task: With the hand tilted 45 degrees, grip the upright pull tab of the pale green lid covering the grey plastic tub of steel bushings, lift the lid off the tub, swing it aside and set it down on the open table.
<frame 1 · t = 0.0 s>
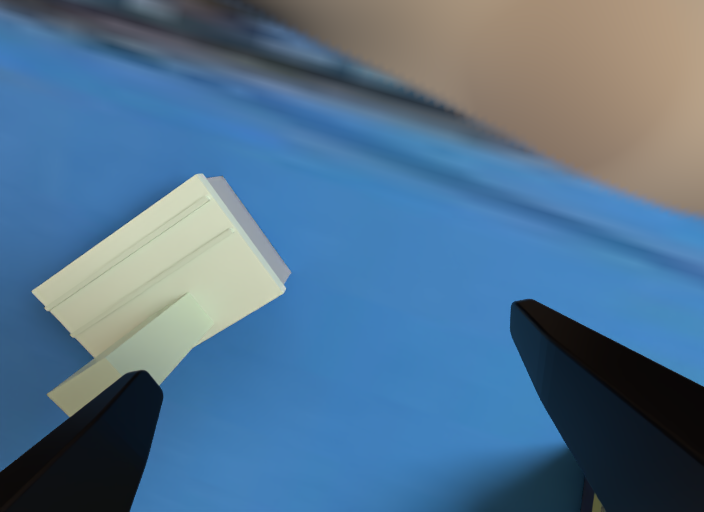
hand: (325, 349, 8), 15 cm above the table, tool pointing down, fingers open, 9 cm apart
protein box: (669, 476, 29), on the table
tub: (187, 272, 24), on the table
lid: (163, 287, 21), point 3 cm above the table, touching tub
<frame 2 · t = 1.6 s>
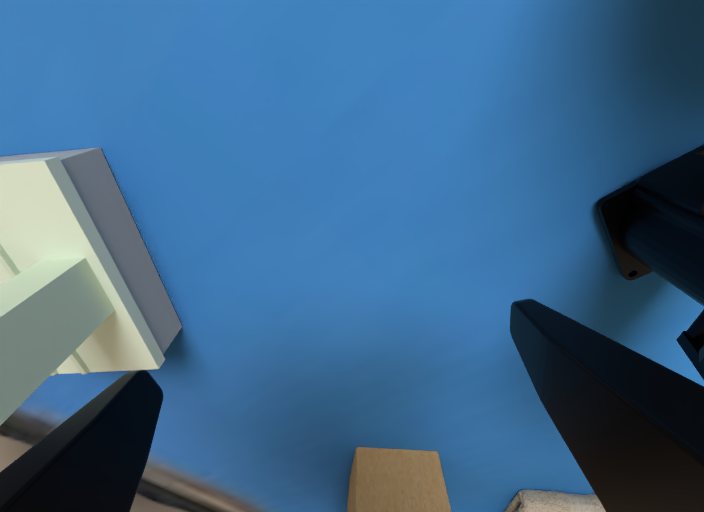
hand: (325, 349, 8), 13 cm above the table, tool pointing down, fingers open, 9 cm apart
sandwich container: (386, 484, 36), on the table
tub: (88, 254, 21), on the table
lid: (51, 280, 19), point 3 cm above the table, touching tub
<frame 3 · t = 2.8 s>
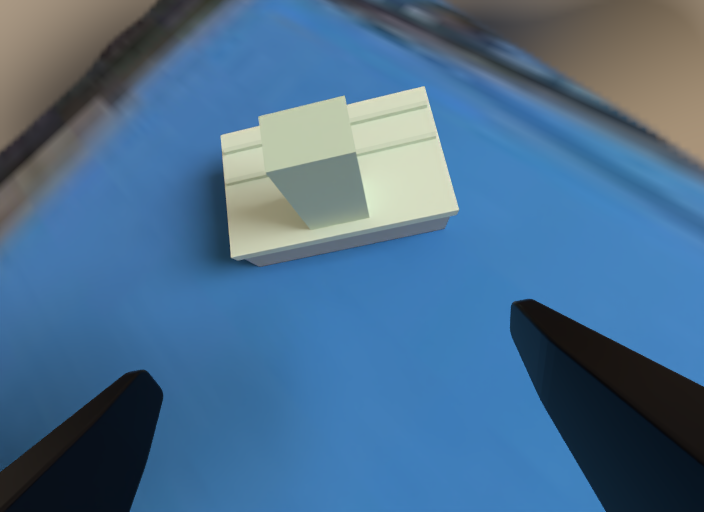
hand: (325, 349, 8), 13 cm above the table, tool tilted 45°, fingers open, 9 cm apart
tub: (340, 195, 24), on the table
lid: (332, 175, 21), point 3 cm above the table, touching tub
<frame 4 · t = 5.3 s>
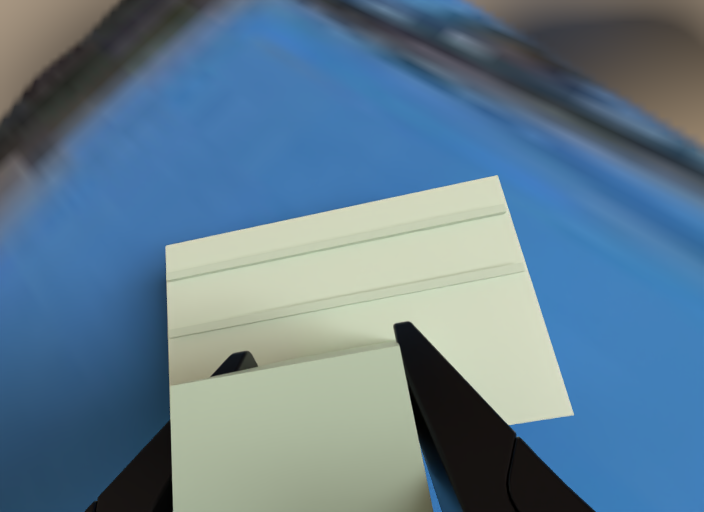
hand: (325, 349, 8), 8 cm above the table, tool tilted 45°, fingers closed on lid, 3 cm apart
lid: (345, 320, 13), point 3 cm above the table, touching gripper, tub
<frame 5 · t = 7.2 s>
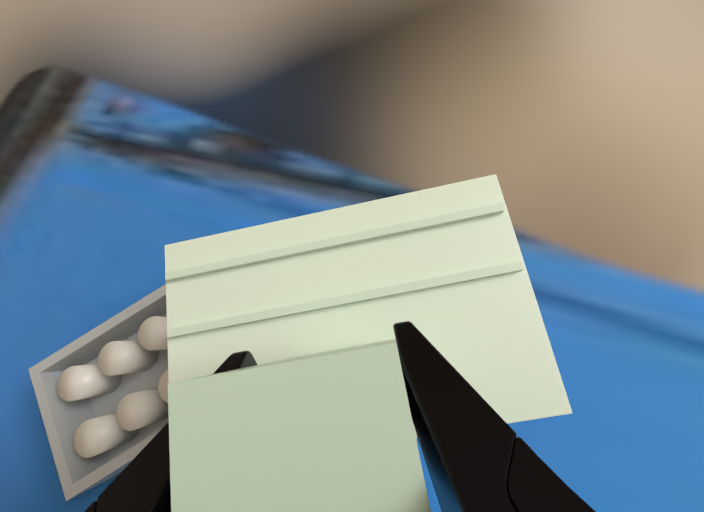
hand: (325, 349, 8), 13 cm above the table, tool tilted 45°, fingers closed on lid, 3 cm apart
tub: (175, 366, 22), on the table
lid: (344, 319, 13), point 9 cm above the table, touching gripper
when the fingers open (7 cm above the table, at t = 9.0 s): lid drops 3 cm, on the table.
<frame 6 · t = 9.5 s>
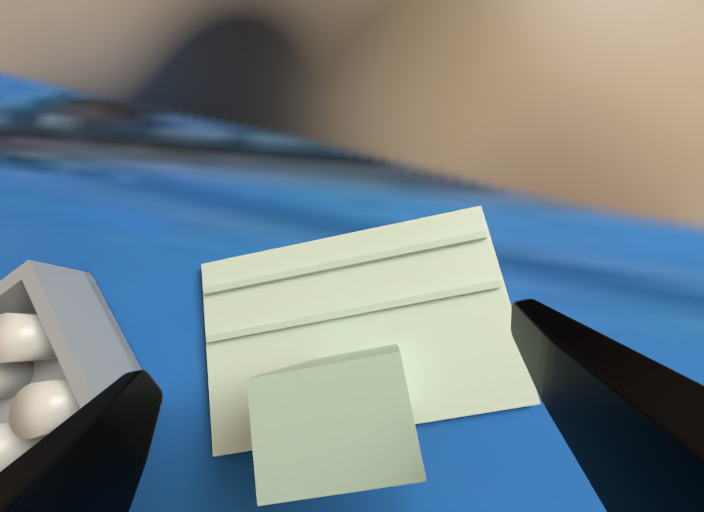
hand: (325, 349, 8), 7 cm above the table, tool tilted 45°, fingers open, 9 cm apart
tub: (12, 422, 16), on the table
lid: (354, 326, 15), on the table
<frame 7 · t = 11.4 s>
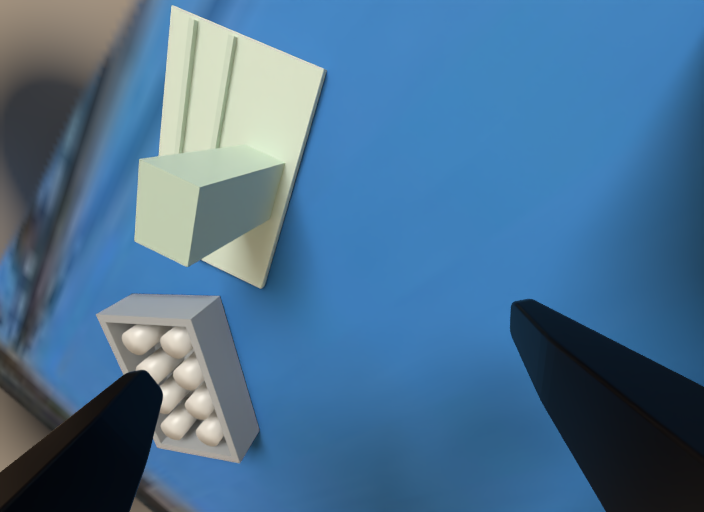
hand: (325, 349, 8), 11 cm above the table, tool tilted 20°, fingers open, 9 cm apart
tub: (198, 365, 27), on the table
lid: (230, 165, 20), on the table
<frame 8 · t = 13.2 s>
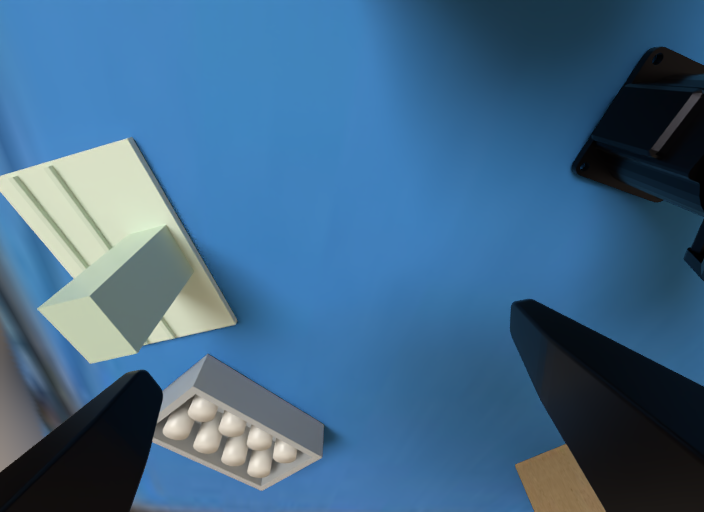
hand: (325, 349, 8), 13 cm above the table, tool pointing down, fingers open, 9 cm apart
sandwich container: (573, 474, 38), on the table
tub: (241, 412, 30), on the table
lid: (136, 255, 22), on the table
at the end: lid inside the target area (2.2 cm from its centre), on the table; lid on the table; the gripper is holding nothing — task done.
